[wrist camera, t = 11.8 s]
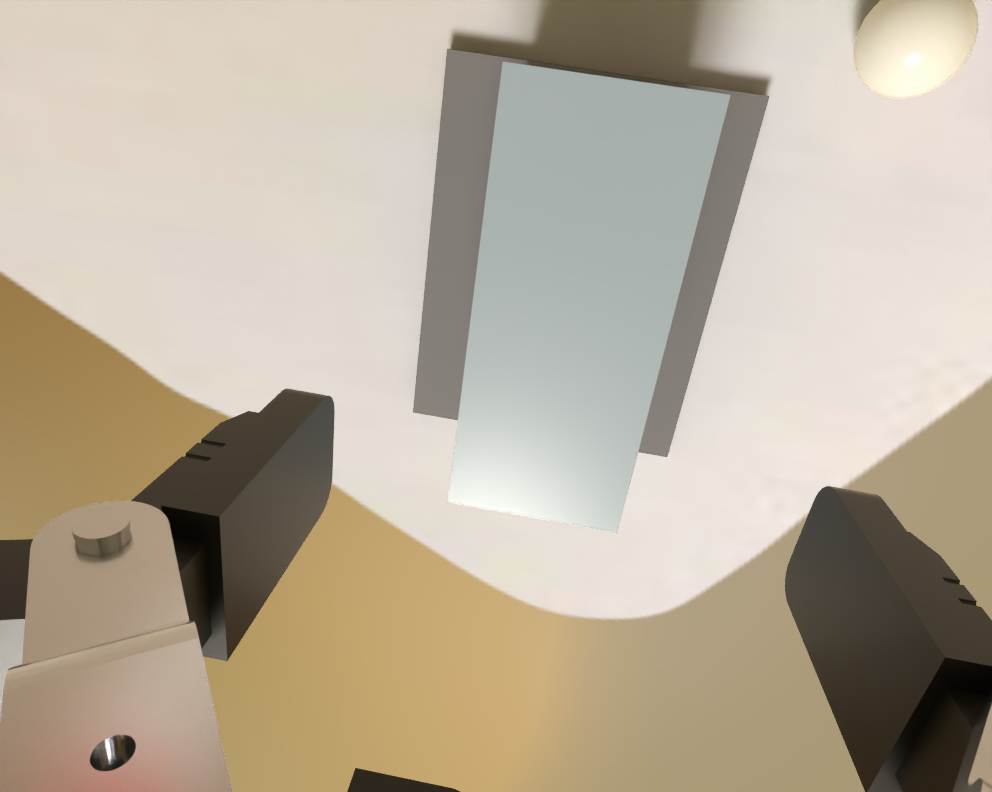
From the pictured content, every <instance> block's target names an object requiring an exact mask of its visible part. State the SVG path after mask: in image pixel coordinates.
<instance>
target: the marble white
mask: <svg viewBox="0 0 992 792" xmlns="http://www.w3.org/2000/svg"><path fill="white" fill-rule="evenodd" d="M977 32H978V16H977V10H976V7H975V5H974V2H973V1H972V0H880V1H879V2H878V3H877V4H876V5H875V6H874V7H873V8H872V9H871V11H870V12H869V13H868V14H867V16H866V17H865V19H864V21H863V22H862V24H861V26H860V28H859V31H858V33H857V36H856V40H855V44H854V64H855V68H856V71H857V73H858V76H859V77H860V79H861V81H862V82H863V83H864V84H865V85H866V86H867V87H868V88H869V89H870V90H872V91H873V92H875V93H877V94H879V95H881V96H884V97H889V98H897V99H903V98H911V97H916V96H920V95H923V94H925V93H928V92H930V91H932V90H934V89H936V88H938V87H939V86H941V85H942V84H944V83H945V82H946V81H948V80H949V79H950V78H951V77H952V76H953V75H954V74H956V73H957V71H958V70H959V69H960V68H961V67H962V66H963V64H964V63H965V61H966V60H967V58H968V57H969V55H970V53H971V51H972V49H973V47H974V44H975V40H976V37H977Z"/></svg>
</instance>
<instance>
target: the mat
mask: <svg viewBox="0 0 992 792" xmlns="http://www.w3.org/2000/svg"><path fill="white" fill-rule="evenodd" d="M503 62H509V63H516V64H523V65H530V66H537V67H544V68H550V69H557V70H564V71H571V72H578V73H585V74H591V75H598V76H605V77H612V78H619V79H626V80H632V81H639V82H646V83H653V84H660V85H667V86H673V87H680V88H687V89H694V90H701V91H708V92H714V93H721V94H728V95H730V99H729V103H728V107H727V111H726V115H725V119H724V122H723V126H722V130H721V134H720V138H719V142H718V146H717V150H716V153H715V157H714V161H713V165H712V169H711V173H710V177H709V180H708V184H707V188H706V192H705V196H704V200H703V204H702V207H701V211H700V215H699V219H698V223H697V227H696V231H695V234H694V238H693V242H692V246H691V250H690V254H689V258H688V261H687V265H686V269H685V273H684V277H683V281H682V285H681V288H680V292H679V296H678V300H677V304H676V308H675V312H674V315H673V319H672V323H671V327H670V331H669V335H668V339H667V342H666V346H665V350H664V354H663V358H662V362H661V366H660V369H659V373H658V377H657V381H656V385H655V389H654V393H653V396H652V400H651V404H650V408H649V412H648V416H647V420H646V424H645V427H644V431H643V435H642V439H641V443H640V447H639V451H638V452H641V453H647V454H653V455H658V456H664V457H667V456H668V452H669V449H670V445H671V442H672V438H673V435H674V431H675V428H676V424H677V421H678V417H679V414H680V410H681V406H682V403H683V399H684V396H685V392H686V389H687V385H688V382H689V378H690V375H691V371H692V368H693V364H694V361H695V357H696V353H697V350H698V346H699V343H700V339H701V336H702V332H703V329H704V325H705V322H706V318H707V315H708V311H709V308H710V304H711V300H712V297H713V293H714V290H715V286H716V283H717V279H718V276H719V272H720V269H721V265H722V262H723V258H724V255H725V251H726V247H727V244H728V240H729V237H730V233H731V230H732V226H733V223H734V219H735V216H736V212H737V209H738V205H739V202H740V198H741V194H742V191H743V187H744V184H745V180H746V177H747V173H748V170H749V166H750V163H751V159H752V156H753V152H754V149H755V145H756V141H757V138H758V134H759V131H760V127H761V124H762V120H763V117H764V113H765V110H766V106H767V103H768V99H769V96H764V95H757V94H750V93H744V92H737V91H730V90H723V89H717V88H710V87H703V86H696V85H690V84H683V83H676V82H669V81H662V80H656V79H649V78H642V77H635V76H629V75H622V74H615V73H608V72H601V71H595V70H588V69H581V68H574V67H568V66H561V65H554V64H547V63H540V62H534V61H527V60H520V59H513V58H507V57H500V56H493V55H486V54H479V53H473V52H466V51H459V50H452V49H447V57H446V68H445V78H444V89H443V100H442V110H441V121H440V132H439V142H438V153H437V164H436V174H435V185H434V195H433V206H432V217H431V227H430V238H429V249H428V259H427V270H426V281H425V291H424V302H423V313H422V323H421V334H420V344H419V355H418V366H417V376H416V387H415V398H414V408H413V412H414V413H420V414H426V415H431V416H437V417H443V418H448V419H454V420H458V415H459V407H460V399H461V391H462V383H463V375H464V367H465V359H466V351H467V343H468V335H469V327H470V319H471V311H472V303H473V295H474V287H475V279H476V271H477V263H478V255H479V247H480V239H481V231H482V223H483V215H484V207H485V199H486V191H487V183H488V175H489V167H490V159H491V151H492V143H493V135H494V127H495V119H496V111H497V103H498V95H499V87H500V79H501V71H502V63H503Z"/></svg>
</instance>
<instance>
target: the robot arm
mask: <svg viewBox="0 0 992 792" xmlns="http://www.w3.org/2000/svg"><path fill="white" fill-rule="evenodd" d="M333 438H334V403H333V399H332V398H331V397H330V396H326V395H320V394H315V393H309V392H303V391H298V390H292V389H284V390H283V391H282V392H281V393H280V394H278V395H277V396H276V397H275V398H274V399H273V400H272V401H271V402H270V403H269V404H268V405H267V406H266V407H265V408H264V409H263V410H261V411H260V412H259V413H256V412H250V411H248V412H246V413H243V414H241V415H238V416H236V417H234V418H231V419H229V420H226V421H224V422H222V423H220V424H219V425H218V426H216V427H215V428H214V429H213V430H212V431H211V432H209V433H208V434H207V435H206V436H205V437H204V438H203V439H202V441H201V443H197V444H196V445H195V446H194V447H192V448H191V449H190V450H189V451H188V452H187V453H186V456H185V457H181V458H180V459H178V460H177V461H176V462H175V463H174V464H173V465H172V466H170V467H169V468H168V469H167V470H166V471H165V472H164V473H162V474H161V475H160V476H159V477H158V478H157V479H156V480H154V481H153V482H152V483H151V484H150V485H149V486H147V487H146V488H145V489H144V490H143V491H142V492H141V493H139V494H138V495H137V496H136V497H135V498H134V499H133V500H131V501H108V502H100V503H95V504H90V505H86V506H83V507H80V508H77V509H74V510H71V511H69V512H67V513H64V514H63V515H60V516H59V517H57V518H55V519H54V520H52V521H50V522H49V523H48V524H46V525H45V526H44V527H43V528H42V529H41V530H40V531H39V532H38V533H37V534H36V535H35V537H34V539H30V540H0V792H232V789H231V784H230V780H229V775H228V770H227V766H226V761H225V756H224V752H223V747H222V743H221V738H220V733H219V729H218V724H217V719H216V715H215V710H214V705H213V701H212V696H211V691H210V687H209V682H208V677H207V673H206V668H205V664H204V659H203V656H205V657H209V658H215V659H220V660H224V661H227V660H228V659H229V657H230V656H231V654H232V653H233V651H234V650H235V648H236V646H237V645H238V644H239V642H240V640H241V639H242V637H243V636H244V634H245V633H246V631H247V629H248V628H249V626H250V625H251V623H252V622H253V620H254V619H255V617H256V615H257V614H258V612H259V611H260V609H261V608H262V606H263V605H264V603H265V602H266V600H267V598H268V597H269V595H270V594H271V592H272V591H273V589H274V588H275V586H276V584H277V582H278V581H279V579H280V578H281V577H282V575H283V574H284V572H285V570H286V569H287V567H288V566H289V564H290V563H291V561H292V560H293V558H294V556H295V555H296V553H297V552H298V550H299V549H300V547H301V546H302V544H303V542H304V541H305V539H306V538H307V536H308V534H309V533H310V532H311V530H312V528H313V527H314V525H315V524H316V522H317V521H318V519H319V518H320V516H321V514H322V513H323V511H324V508H325V506H326V503H327V500H328V497H329V493H330V489H331V483H332V467H333ZM959 582H960V580H959V579H958V577H957V576H956V575H955V574H954V573H953V571H952V570H951V569H950V567H949V566H948V565H947V564H946V562H945V561H944V560H943V559H942V557H941V556H940V555H939V554H937V553H936V552H935V551H933V550H932V549H931V548H930V547H928V546H927V545H926V544H924V543H923V542H922V541H921V540H919V539H918V538H917V537H915V536H914V535H913V534H911V533H910V532H907V531H906V530H905V529H904V527H903V526H902V524H901V523H900V522H899V520H898V519H897V518H896V516H895V515H894V514H893V512H892V511H891V510H890V508H889V507H888V506H887V505H886V503H885V502H884V501H883V499H882V498H881V497H879V496H878V495H875V494H869V493H864V492H858V491H852V490H847V489H841V488H836V487H830V486H827V487H824V488H823V489H821V490H820V491H819V493H818V494H817V496H816V498H815V500H814V502H813V505H812V507H811V509H810V512H809V514H808V517H807V519H806V522H805V524H804V527H803V529H802V532H801V534H800V536H799V539H798V542H797V544H796V546H795V549H794V551H793V554H792V556H791V559H790V561H789V564H788V567H787V572H786V579H785V592H786V598H787V602H788V605H789V607H790V610H791V612H792V615H793V617H794V620H795V622H796V624H797V627H798V629H799V632H800V634H801V637H802V639H803V642H804V644H805V646H806V649H807V651H808V653H809V656H810V659H811V661H812V663H813V666H814V668H815V671H816V673H817V676H818V678H819V680H820V683H821V685H822V688H823V690H824V692H825V695H826V697H827V700H828V702H829V705H830V707H831V710H832V712H833V714H834V717H835V719H836V722H837V724H838V727H839V729H840V732H841V734H842V736H843V739H844V741H845V744H846V746H847V749H848V751H849V753H850V756H851V758H852V761H853V763H854V766H855V768H856V770H857V773H858V775H859V778H860V780H861V783H862V785H863V787H864V790H865V792H992V620H991V619H990V618H989V616H988V615H987V614H986V613H985V611H984V610H983V609H982V608H981V607H978V606H976V600H975V599H974V598H973V596H972V595H971V594H970V593H969V591H968V590H967V589H966V588H965V586H964V585H960V584H959ZM348 792H460V791H457V790H456V789H452V788H448V787H443V786H438V785H434V784H429V783H424V782H419V781H415V780H410V779H405V778H400V777H396V776H391V775H385V774H381V773H376V772H372V771H367V770H362V769H358V768H355V771H354V774H353V777H352V780H351V783H350V786H349V789H348Z"/></svg>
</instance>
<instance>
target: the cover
mask: <svg viewBox="0 0 992 792" xmlns="http://www.w3.org/2000/svg"><path fill="white" fill-rule="evenodd" d="M729 99H730V95H728V94H721V93H714V92H708V91H701V90H694V89H687V88H680V87H673V86H667V85H660V84H653V83H646V82H639V81H632V80H626V79H619V78H612V77H605V76H598V75H591V74H585V73H578V72H571V71H564V70H557V69H550V68H544V67H537V66H530V65H523V64H516V63H509V62H503V63H502V71H501V79H500V87H499V95H498V103H497V111H496V119H495V127H494V135H493V143H492V151H491V159H490V167H489V175H488V183H487V191H486V199H485V207H484V215H483V223H482V231H481V239H480V247H479V255H478V263H477V271H476V279H475V287H474V295H473V303H472V311H471V319H470V327H469V335H468V343H467V351H466V359H465V367H464V375H463V383H462V391H461V399H460V407H459V415H458V423H457V431H456V439H455V447H454V455H453V463H452V471H451V479H450V487H449V495H448V502H449V503H454V504H460V505H465V506H471V507H476V508H482V509H487V510H493V511H498V512H504V513H509V514H515V515H520V516H526V517H531V518H537V519H542V520H548V521H553V522H559V523H564V524H570V525H575V526H581V527H586V528H592V529H597V530H603V531H608V532H614V533H617V532H618V528H619V524H620V520H621V516H622V512H623V508H624V505H625V501H626V497H627V493H628V489H629V485H630V481H631V478H632V474H633V470H634V466H635V462H636V458H637V454H638V451H639V447H640V443H641V439H642V435H643V431H644V427H645V424H646V420H647V416H648V412H649V408H650V404H651V400H652V396H653V393H654V389H655V385H656V381H657V377H658V373H659V369H660V366H661V362H662V358H663V354H664V350H665V346H666V342H667V339H668V335H669V331H670V327H671V323H672V319H673V315H674V312H675V308H676V304H677V300H678V296H679V292H680V288H681V285H682V281H683V277H684V273H685V269H686V265H687V261H688V258H689V254H690V250H691V246H692V242H693V238H694V234H695V231H696V227H697V223H698V219H699V215H700V211H701V207H702V204H703V200H704V196H705V192H706V188H707V184H708V180H709V177H710V173H711V169H712V165H713V161H714V157H715V153H716V150H717V146H718V142H719V138H720V134H721V130H722V126H723V122H724V119H725V115H726V111H727V107H728V103H729Z"/></svg>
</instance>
